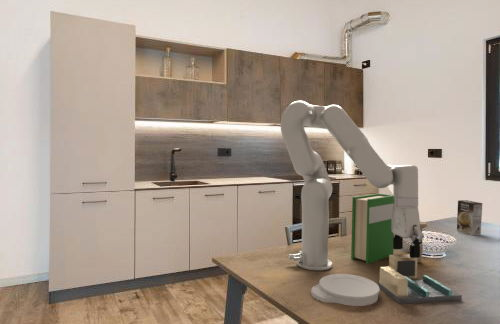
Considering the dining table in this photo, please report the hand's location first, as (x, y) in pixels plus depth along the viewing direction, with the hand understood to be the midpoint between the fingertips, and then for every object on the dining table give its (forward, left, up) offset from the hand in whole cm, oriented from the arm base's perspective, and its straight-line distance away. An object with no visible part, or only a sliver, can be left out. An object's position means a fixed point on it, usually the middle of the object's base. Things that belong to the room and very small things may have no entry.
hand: (406, 253), depth 117 cm
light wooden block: (-1, 0, -8) cm, 8 cm away
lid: (-26, -11, -9) cm, 29 cm away
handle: (+13, +14, -8) cm, 21 cm away
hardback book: (-1, +21, -8) cm, 23 cm away
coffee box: (+67, +53, -8) cm, 86 cm away
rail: (-4, -13, -8) cm, 15 cm away
